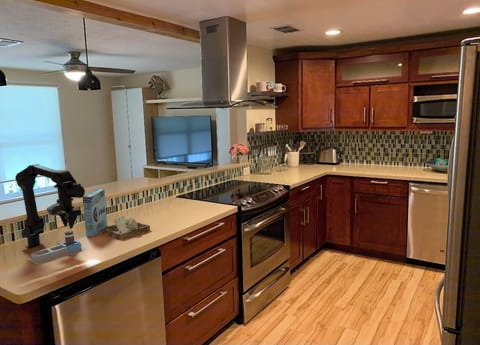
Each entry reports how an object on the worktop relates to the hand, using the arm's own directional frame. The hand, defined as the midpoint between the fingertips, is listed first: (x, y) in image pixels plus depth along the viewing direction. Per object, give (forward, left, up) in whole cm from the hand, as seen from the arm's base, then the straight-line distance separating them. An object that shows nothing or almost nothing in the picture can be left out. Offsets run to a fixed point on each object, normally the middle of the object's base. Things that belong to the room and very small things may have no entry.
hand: (68, 227), depth 179 cm
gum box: (-20, +25, -13) cm, 34 cm away
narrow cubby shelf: (0, -7, -12) cm, 14 cm away
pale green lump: (-4, +32, -13) cm, 34 cm away
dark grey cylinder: (0, 0, -12) cm, 12 cm away
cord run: (-11, 0, -12) cm, 17 cm away
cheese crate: (-4, +34, -12) cm, 36 cm away
